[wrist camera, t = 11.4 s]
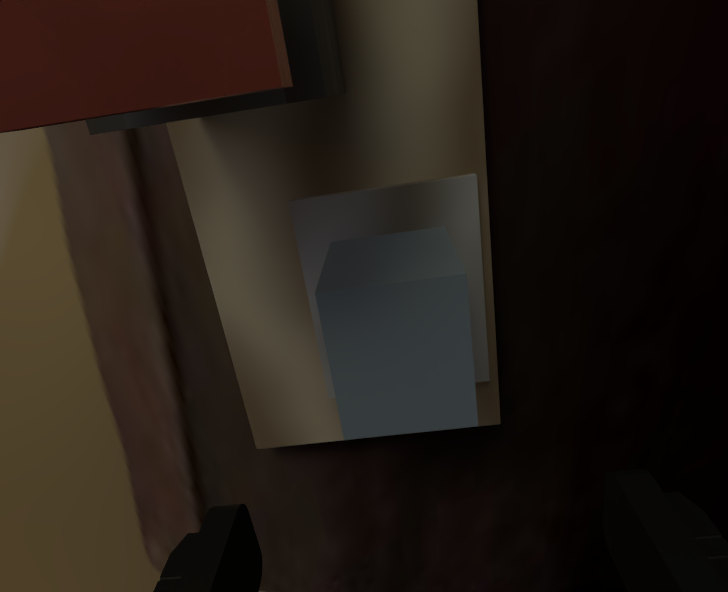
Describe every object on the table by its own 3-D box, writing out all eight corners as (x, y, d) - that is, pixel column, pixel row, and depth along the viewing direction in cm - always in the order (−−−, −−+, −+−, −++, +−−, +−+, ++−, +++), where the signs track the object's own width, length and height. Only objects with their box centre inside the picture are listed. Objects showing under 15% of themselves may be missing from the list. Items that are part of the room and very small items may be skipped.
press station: (460, -169, 18) (541, -425, 9) (494, 407, 28) (551, 567, 19) (119, -102, 19) (-115, -272, 10) (262, 431, 29) (208, 594, 20)
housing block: (444, 226, 22) (466, 273, 16) (455, 348, 24) (478, 425, 19) (330, 241, 22) (314, 292, 17) (352, 360, 25) (344, 440, 19)
